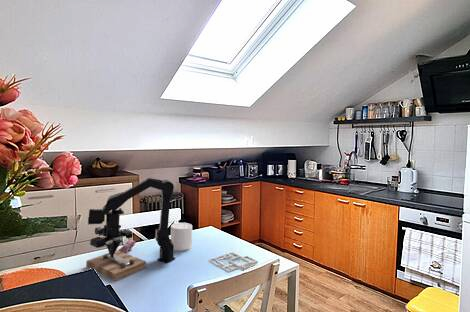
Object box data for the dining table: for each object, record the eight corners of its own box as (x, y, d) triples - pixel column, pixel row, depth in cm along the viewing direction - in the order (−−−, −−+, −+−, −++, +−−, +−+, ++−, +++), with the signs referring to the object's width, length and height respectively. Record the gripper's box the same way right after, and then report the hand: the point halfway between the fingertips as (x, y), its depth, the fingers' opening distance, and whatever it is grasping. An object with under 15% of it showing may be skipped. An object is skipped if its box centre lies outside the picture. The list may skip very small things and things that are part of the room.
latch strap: (130, 264, 136) (131, 262, 136) (125, 266, 134) (125, 264, 133) (112, 254, 143) (112, 253, 143) (106, 256, 141) (107, 255, 141)
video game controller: (122, 258, 153) (128, 247, 152) (115, 253, 154) (121, 242, 153) (133, 251, 163) (138, 240, 162) (126, 246, 164) (131, 236, 163)
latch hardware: (134, 264, 137) (134, 260, 137) (123, 268, 132) (123, 264, 132) (112, 255, 146) (112, 251, 146) (101, 259, 141) (101, 255, 141)
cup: (166, 247, 165) (166, 226, 165) (180, 241, 175) (180, 221, 174) (182, 252, 159) (182, 230, 158) (196, 245, 169) (196, 225, 168)
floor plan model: (270, 262, 151) (270, 258, 151) (231, 276, 136) (232, 271, 135) (246, 250, 166) (246, 247, 166) (208, 261, 150) (208, 258, 150)
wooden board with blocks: (146, 267, 140) (146, 261, 140) (116, 280, 127) (116, 274, 127) (116, 255, 152) (116, 250, 152) (86, 267, 139) (86, 260, 139)
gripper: (119, 215, 152) (118, 245, 153) (83, 223, 136) (82, 257, 137) (133, 220, 146) (132, 251, 147) (98, 229, 130) (97, 264, 131)
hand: (111, 255), depth 141 cm, fingers closed, pressing on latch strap
